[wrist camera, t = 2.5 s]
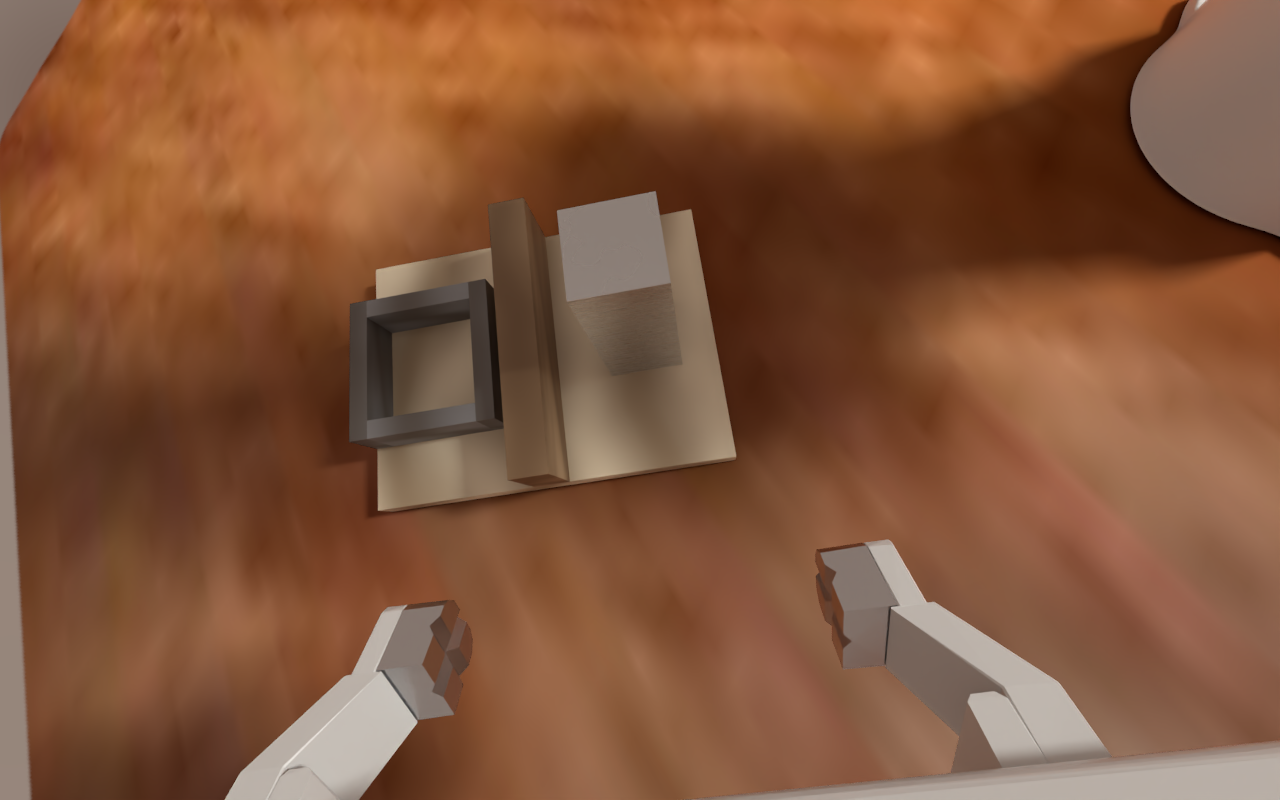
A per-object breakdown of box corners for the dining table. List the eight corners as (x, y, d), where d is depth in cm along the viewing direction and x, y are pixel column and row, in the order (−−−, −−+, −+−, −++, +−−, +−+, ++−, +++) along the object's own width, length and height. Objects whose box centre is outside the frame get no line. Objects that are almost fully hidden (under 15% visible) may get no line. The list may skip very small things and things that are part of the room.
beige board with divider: (691, 223, 33) (688, 164, 28) (734, 460, 29) (741, 444, 24) (389, 280, 35) (332, 235, 30) (393, 511, 31) (328, 507, 26)
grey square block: (671, 298, 30) (655, 190, 21) (682, 364, 29) (670, 283, 20) (603, 310, 31) (556, 210, 21) (612, 376, 30) (566, 301, 20)
